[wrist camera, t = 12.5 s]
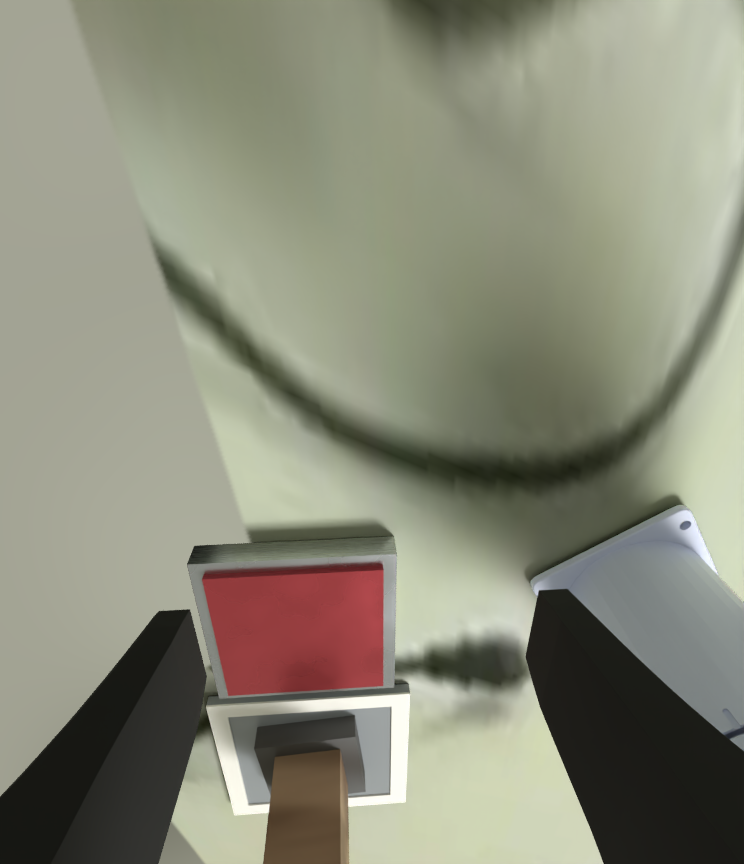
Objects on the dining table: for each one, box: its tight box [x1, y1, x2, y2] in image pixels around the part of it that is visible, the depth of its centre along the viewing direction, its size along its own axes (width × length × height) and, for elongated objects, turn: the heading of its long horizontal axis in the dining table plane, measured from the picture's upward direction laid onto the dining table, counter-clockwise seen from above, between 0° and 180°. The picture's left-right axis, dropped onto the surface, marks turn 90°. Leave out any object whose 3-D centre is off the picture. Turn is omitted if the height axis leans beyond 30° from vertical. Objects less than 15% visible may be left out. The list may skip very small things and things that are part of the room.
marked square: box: [206, 684, 410, 815], centre depth 29 cm, size 11×11×1 cm
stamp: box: [254, 715, 366, 864], centre depth 26 cm, size 6×6×6 cm
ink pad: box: [187, 536, 397, 699], centre depth 23 cm, size 9×9×2 cm
